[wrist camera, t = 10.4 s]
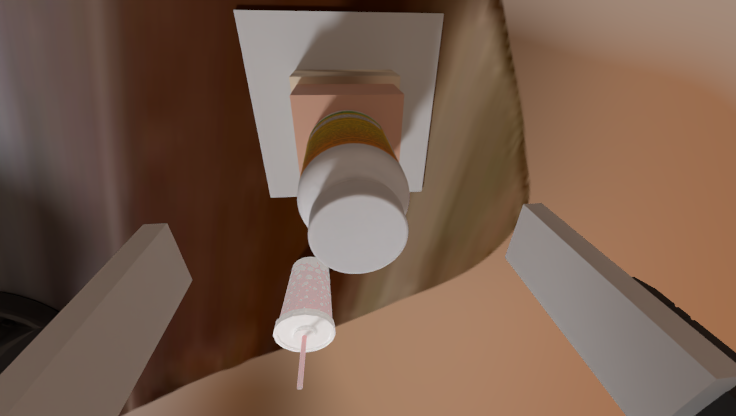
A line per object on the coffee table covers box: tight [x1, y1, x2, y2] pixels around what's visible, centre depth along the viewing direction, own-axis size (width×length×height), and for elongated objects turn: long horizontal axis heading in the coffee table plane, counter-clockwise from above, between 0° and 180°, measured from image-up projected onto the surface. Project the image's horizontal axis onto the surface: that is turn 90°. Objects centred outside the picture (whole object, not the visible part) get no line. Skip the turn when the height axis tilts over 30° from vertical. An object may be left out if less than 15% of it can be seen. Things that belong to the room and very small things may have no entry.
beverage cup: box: [273, 257, 335, 390], centre depth 30 cm, size 6×6×14 cm
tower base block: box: [289, 70, 400, 92], centre depth 24 cm, size 8×8×4 cm
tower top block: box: [290, 84, 404, 175], centre depth 21 cm, size 7×7×4 cm
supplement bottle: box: [297, 110, 410, 274], centre depth 15 cm, size 5×5×10 cm
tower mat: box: [234, 10, 444, 198], centre depth 26 cm, size 16×16×1 cm
